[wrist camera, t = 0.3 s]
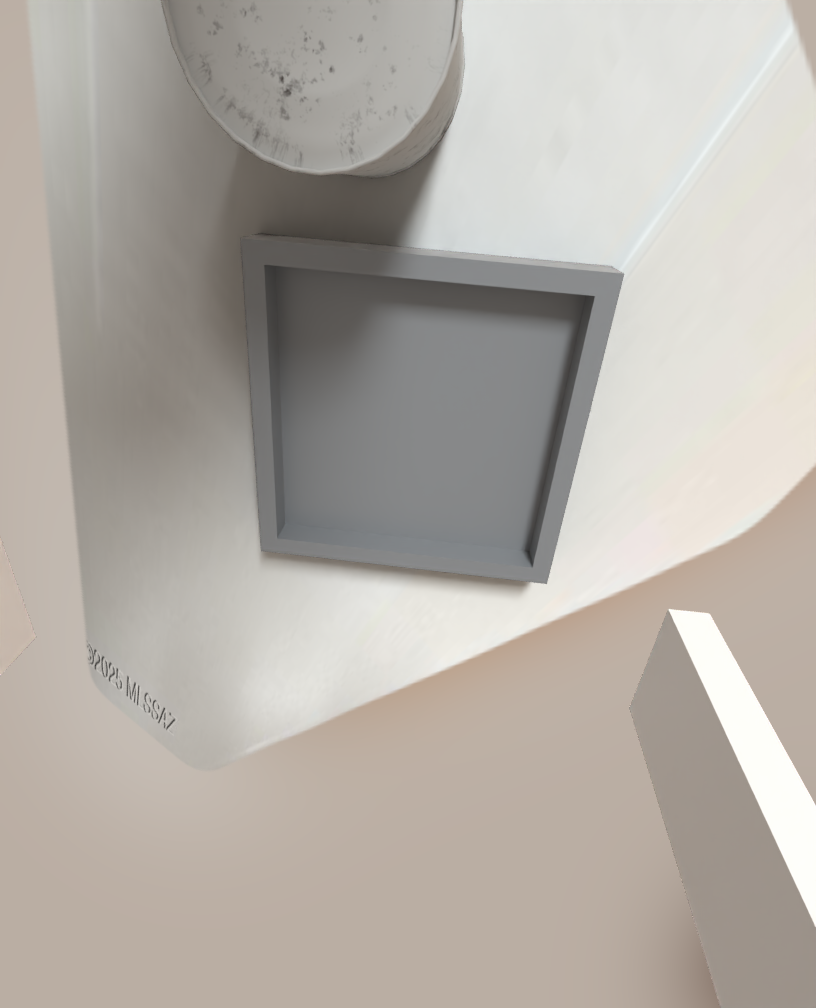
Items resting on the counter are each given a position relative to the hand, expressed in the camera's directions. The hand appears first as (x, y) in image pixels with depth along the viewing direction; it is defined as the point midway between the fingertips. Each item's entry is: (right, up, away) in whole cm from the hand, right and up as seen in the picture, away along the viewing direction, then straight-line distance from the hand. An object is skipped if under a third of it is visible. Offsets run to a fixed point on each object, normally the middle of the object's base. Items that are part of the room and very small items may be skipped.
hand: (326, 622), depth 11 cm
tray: (+2, +8, +25) cm, 27 cm away
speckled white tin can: (0, +24, +17) cm, 30 cm away
